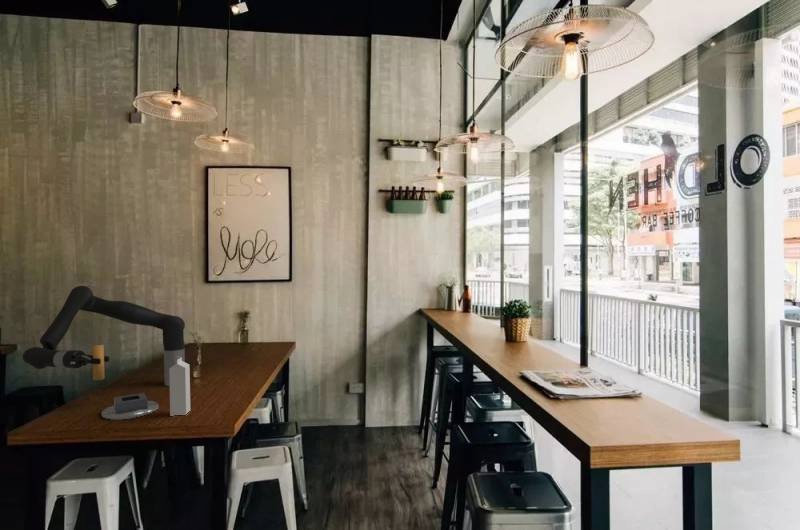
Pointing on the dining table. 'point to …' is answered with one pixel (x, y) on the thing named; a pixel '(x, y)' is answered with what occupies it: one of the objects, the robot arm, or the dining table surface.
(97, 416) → the dining table surface
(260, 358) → the dining table surface
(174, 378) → the milk
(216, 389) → the dining table surface
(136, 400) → the square frame on disc
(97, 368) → the pin
